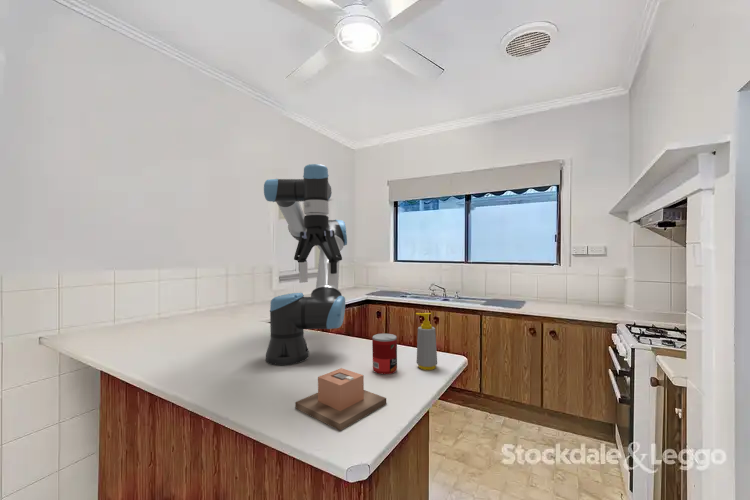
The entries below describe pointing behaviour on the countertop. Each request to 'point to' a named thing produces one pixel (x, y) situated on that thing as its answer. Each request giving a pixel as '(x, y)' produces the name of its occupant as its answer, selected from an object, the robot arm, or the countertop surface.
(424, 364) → the soap bottle
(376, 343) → the canned food
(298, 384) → the countertop surface
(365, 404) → the base plate
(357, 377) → the orange open box
